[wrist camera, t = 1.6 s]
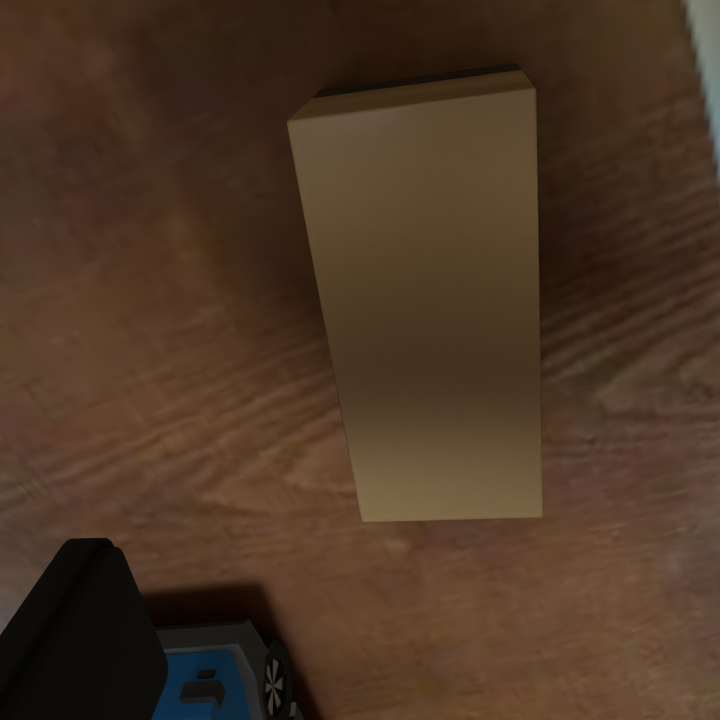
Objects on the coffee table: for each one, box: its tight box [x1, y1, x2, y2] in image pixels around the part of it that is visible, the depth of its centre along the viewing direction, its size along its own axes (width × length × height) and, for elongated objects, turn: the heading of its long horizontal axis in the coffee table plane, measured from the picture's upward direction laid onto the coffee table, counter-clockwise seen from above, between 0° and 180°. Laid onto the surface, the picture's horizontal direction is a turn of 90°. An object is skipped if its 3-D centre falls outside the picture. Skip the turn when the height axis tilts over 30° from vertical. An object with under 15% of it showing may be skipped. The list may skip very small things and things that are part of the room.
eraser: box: [287, 64, 543, 522], centre depth 18 cm, size 11×5×4 cm, turn 8°
